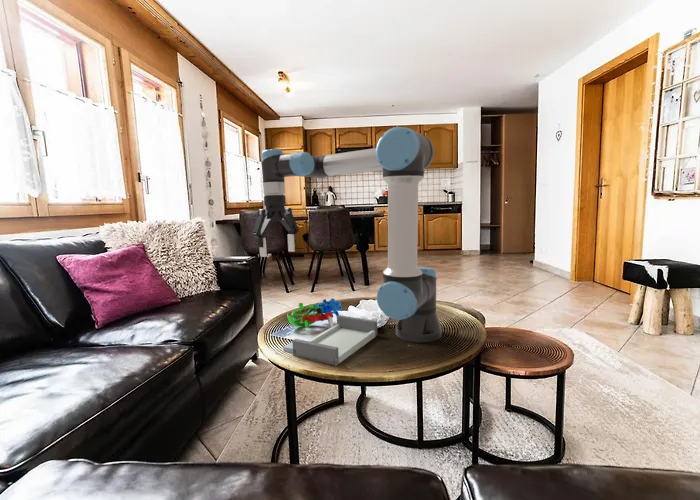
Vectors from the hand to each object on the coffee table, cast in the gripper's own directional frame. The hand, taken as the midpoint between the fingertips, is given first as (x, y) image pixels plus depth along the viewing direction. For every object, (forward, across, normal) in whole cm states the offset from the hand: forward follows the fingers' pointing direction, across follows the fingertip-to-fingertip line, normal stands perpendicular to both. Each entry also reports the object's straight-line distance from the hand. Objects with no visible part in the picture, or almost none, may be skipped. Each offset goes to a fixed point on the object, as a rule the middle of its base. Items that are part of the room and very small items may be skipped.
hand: (278, 254), depth 131 cm
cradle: (+27, +4, +29) cm, 40 cm away
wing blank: (+27, +13, +20) cm, 36 cm away
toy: (+28, -6, +11) cm, 31 cm away
